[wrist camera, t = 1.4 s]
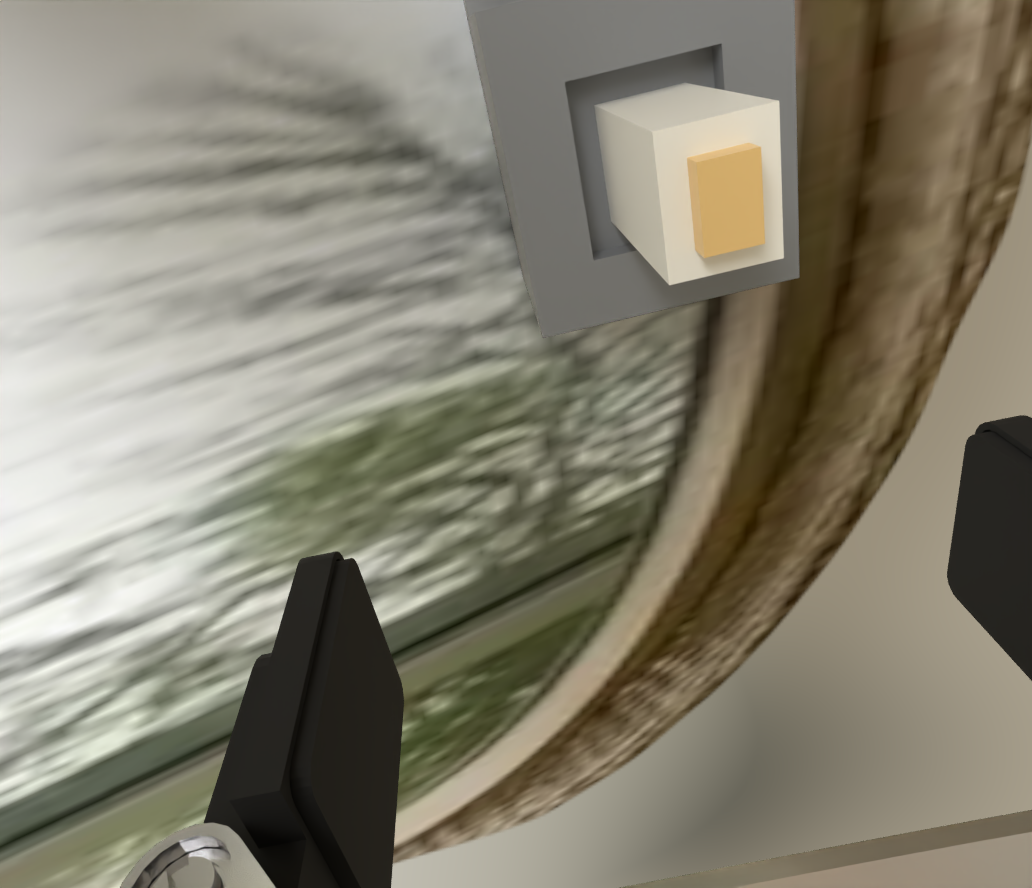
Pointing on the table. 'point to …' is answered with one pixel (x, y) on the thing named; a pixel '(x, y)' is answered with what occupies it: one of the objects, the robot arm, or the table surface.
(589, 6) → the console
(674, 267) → the plug
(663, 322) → the table surface
